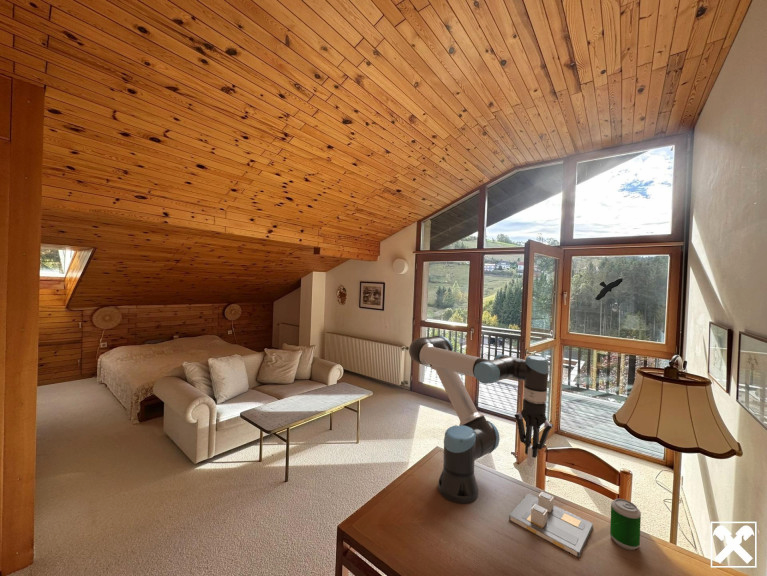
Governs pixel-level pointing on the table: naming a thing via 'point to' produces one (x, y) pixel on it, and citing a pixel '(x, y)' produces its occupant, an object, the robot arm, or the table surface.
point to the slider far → (546, 501)
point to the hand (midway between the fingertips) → (530, 464)
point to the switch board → (554, 526)
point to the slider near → (539, 515)
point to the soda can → (625, 524)
